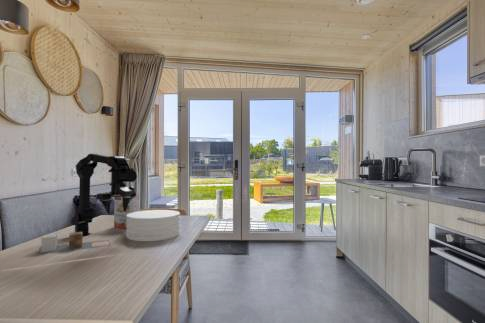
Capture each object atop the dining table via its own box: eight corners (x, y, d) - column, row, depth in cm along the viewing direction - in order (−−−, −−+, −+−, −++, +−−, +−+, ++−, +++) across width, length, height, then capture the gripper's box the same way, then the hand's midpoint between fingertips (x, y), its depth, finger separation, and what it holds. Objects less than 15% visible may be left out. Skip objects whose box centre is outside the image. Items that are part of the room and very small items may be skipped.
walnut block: (68, 248, 121) (69, 235, 121) (69, 245, 125) (69, 232, 125) (82, 247, 123) (82, 233, 123) (82, 244, 128) (82, 231, 128)
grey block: (41, 252, 116) (41, 237, 116) (42, 249, 120) (43, 235, 121) (55, 250, 118) (55, 236, 119) (56, 247, 123) (56, 234, 123)
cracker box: (113, 227, 167) (113, 193, 167) (120, 225, 172) (120, 192, 173) (132, 229, 163) (133, 194, 163) (139, 227, 168) (139, 193, 169)
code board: (35, 256, 112) (35, 254, 112) (40, 248, 123) (40, 247, 123) (110, 247, 126) (110, 245, 126) (109, 240, 136) (109, 239, 136)
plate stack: (114, 237, 144) (114, 215, 145) (154, 227, 169) (154, 208, 170) (153, 244, 131) (153, 220, 132) (190, 232, 156) (190, 212, 156)
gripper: (111, 182, 125) (110, 217, 124) (143, 181, 141) (143, 211, 141) (96, 181, 130) (95, 214, 130) (129, 180, 146) (128, 209, 146)
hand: (116, 212), depth 136 cm, fingers open, 9 cm apart
